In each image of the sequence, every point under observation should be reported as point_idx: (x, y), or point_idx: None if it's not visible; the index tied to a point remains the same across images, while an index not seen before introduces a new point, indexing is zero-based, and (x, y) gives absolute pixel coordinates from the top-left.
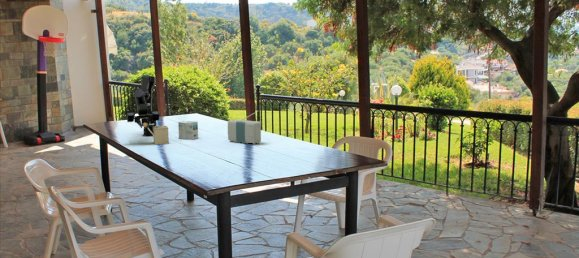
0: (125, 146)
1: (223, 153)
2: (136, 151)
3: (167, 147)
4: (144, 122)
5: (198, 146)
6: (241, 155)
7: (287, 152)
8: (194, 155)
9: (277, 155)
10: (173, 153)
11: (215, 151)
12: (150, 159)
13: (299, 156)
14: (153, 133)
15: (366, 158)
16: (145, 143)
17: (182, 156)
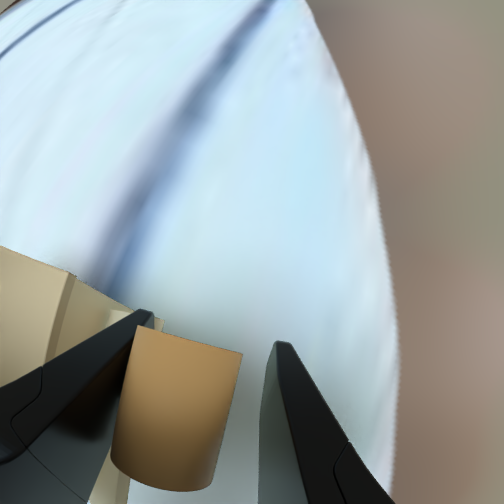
0: (392, 356)
1: (79, 19)
2: (347, 135)
3: (128, 148)
4: (159, 488)
5: (19, 119)
6: (75, 6)
7: (8, 26)
8: (156, 10)
9: (40, 8)
10: (194, 36)
11: (67, 37)
12: (310, 18)
13: (32, 5)
14: None
15: (12, 3)
16: None
17: (196, 8)
